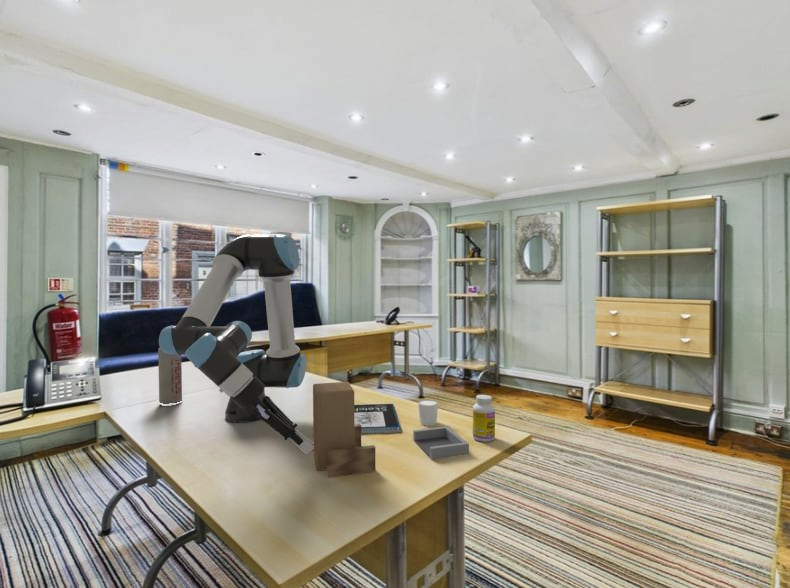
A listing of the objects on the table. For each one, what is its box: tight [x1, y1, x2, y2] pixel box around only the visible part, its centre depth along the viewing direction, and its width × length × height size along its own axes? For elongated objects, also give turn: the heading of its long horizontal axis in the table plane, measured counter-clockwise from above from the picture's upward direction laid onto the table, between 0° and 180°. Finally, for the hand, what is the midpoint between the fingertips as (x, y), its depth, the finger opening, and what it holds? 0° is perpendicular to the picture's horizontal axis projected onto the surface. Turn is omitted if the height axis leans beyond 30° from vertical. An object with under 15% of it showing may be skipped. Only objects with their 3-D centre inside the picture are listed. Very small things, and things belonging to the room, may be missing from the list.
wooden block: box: [312, 381, 355, 471], centre depth 109 cm, size 10×10×20 cm
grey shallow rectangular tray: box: [412, 426, 470, 460], centre depth 118 cm, size 11×14×3 cm
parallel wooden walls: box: [326, 424, 376, 478], centre depth 110 cm, size 12×18×6 cm, turn 17°
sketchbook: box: [354, 403, 402, 435], centre depth 143 cm, size 22×30×2 cm
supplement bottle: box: [472, 394, 496, 443], centre depth 125 cm, size 7×7×13 cm
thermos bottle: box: [157, 347, 183, 404], centre depth 162 cm, size 8×8×28 cm
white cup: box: [417, 399, 439, 427], centre depth 139 cm, size 7×7×7 cm
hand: (309, 449), depth 104 cm, fingers closed
